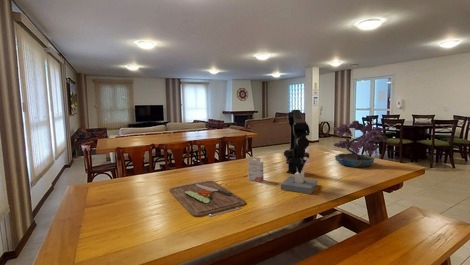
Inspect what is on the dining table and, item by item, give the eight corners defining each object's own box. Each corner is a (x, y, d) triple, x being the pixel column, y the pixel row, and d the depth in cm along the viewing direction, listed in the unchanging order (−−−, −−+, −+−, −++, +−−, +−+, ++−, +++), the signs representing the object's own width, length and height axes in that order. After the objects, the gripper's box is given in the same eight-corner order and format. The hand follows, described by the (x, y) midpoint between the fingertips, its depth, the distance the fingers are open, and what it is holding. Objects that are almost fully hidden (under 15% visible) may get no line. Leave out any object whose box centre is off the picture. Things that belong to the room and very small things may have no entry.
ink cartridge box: (263, 179, 154) (263, 156, 152) (260, 182, 150) (260, 157, 148) (251, 177, 158) (250, 154, 156) (247, 180, 154) (247, 156, 152)
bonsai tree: (325, 162, 194) (327, 120, 190) (349, 158, 206) (351, 118, 202) (367, 173, 163) (370, 123, 159) (393, 167, 175) (396, 121, 171)
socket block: (289, 181, 151) (289, 176, 150) (317, 184, 143) (317, 179, 143) (280, 189, 137) (280, 183, 137) (310, 194, 129) (311, 188, 129)
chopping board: (166, 189, 141) (166, 184, 141) (210, 181, 155) (210, 176, 154) (196, 221, 103) (196, 214, 102) (251, 207, 116) (251, 200, 116)
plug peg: (296, 185, 143) (297, 171, 142) (303, 186, 141) (304, 172, 140) (294, 187, 139) (294, 173, 138) (302, 188, 137) (302, 174, 136)
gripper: (290, 141, 149) (290, 167, 151) (280, 146, 133) (279, 175, 135) (309, 142, 144) (309, 169, 146) (301, 148, 127) (300, 178, 129)
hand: (299, 173), depth 139 cm, fingers closed, pressing on plug peg
